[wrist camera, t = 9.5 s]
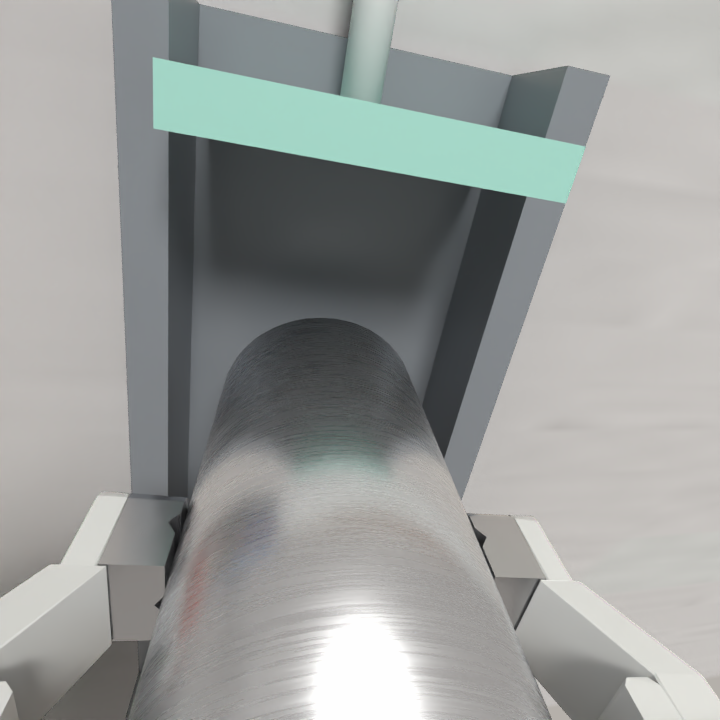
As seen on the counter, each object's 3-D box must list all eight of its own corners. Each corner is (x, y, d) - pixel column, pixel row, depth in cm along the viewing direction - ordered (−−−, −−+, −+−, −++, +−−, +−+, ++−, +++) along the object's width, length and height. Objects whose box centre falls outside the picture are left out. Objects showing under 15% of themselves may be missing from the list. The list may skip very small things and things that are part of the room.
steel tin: (223, 301, 12) (-104, 1088, 2) (436, 327, 13) (836, 958, 3) (213, 475, 14) (33, 1221, 5) (393, 487, 15) (551, 1124, 6)
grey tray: (160, -2, 12) (74, -73, 7) (538, 84, 13) (656, 70, 9) (163, 603, 21) (126, 733, 17) (383, 607, 23) (403, 725, 18)
